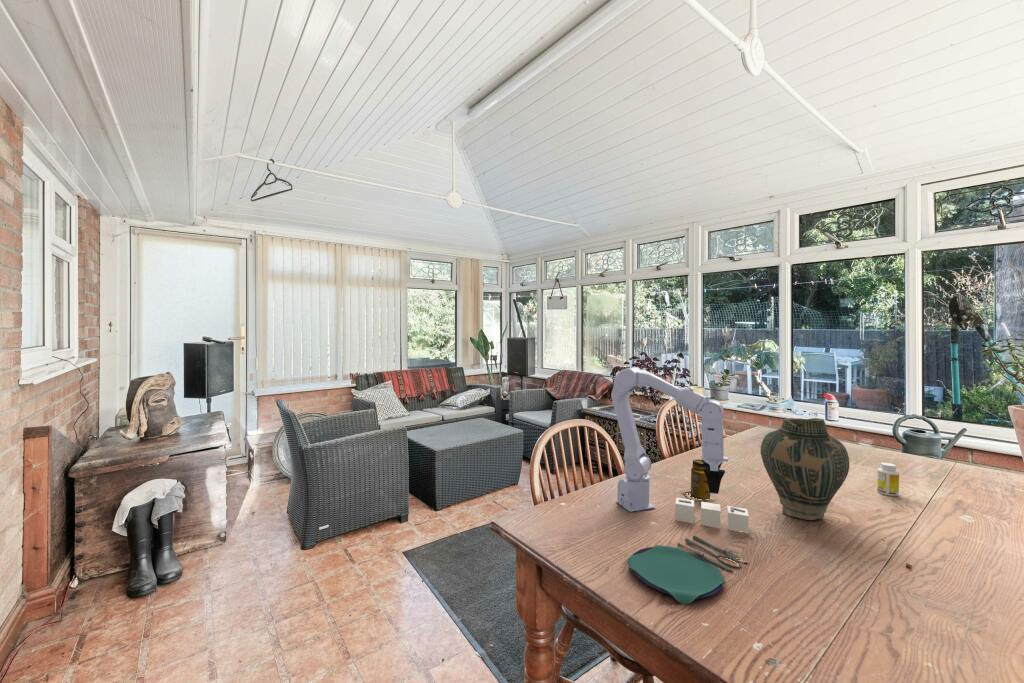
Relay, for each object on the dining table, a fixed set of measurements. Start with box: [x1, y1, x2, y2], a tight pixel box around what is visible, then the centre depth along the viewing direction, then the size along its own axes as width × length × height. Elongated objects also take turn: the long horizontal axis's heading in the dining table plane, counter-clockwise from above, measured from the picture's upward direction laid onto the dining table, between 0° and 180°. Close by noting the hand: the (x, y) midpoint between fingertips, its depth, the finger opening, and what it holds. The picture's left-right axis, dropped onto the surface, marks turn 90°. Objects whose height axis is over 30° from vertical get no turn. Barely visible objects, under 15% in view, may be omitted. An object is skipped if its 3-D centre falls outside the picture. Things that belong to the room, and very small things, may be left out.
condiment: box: [680, 458, 717, 502], centre depth 140 cm, size 7×8×12 cm
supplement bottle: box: [876, 462, 900, 497], centre depth 143 cm, size 6×6×10 cm
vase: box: [760, 417, 850, 521], centre depth 126 cm, size 22×22×30 cm
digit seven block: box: [726, 505, 750, 533], centre depth 118 cm, size 5×5×5 cm
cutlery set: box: [627, 535, 742, 605], centre depth 97 cm, size 20×30×2 cm, turn 122°
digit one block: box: [674, 497, 695, 524], centre depth 124 cm, size 5×5×5 cm
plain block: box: [700, 501, 722, 529], centre depth 121 cm, size 5×5×5 cm
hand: (713, 488), depth 121 cm, fingers open, 7 cm apart
